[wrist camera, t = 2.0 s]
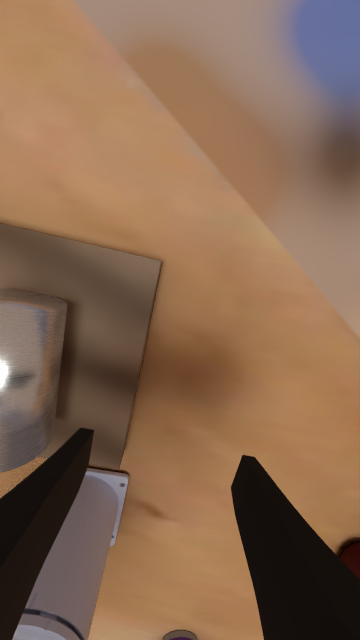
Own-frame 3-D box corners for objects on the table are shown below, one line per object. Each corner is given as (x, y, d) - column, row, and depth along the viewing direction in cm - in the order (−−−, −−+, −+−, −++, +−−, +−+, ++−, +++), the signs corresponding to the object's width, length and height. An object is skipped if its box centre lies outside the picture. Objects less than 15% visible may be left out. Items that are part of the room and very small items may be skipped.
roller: (62, 415, 18) (38, 471, 13) (-10, 413, 16) (-66, 475, 12) (75, 299, 15) (52, 316, 11) (-7, 285, 14) (-73, 298, 9)
